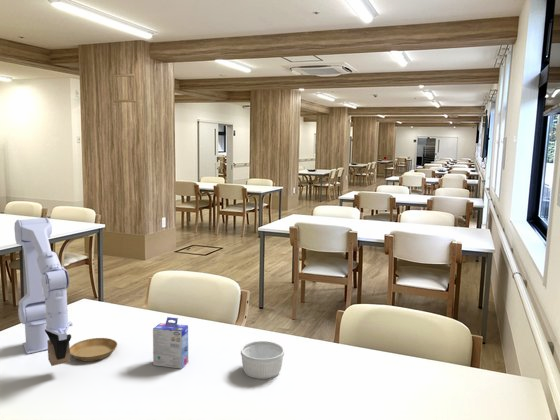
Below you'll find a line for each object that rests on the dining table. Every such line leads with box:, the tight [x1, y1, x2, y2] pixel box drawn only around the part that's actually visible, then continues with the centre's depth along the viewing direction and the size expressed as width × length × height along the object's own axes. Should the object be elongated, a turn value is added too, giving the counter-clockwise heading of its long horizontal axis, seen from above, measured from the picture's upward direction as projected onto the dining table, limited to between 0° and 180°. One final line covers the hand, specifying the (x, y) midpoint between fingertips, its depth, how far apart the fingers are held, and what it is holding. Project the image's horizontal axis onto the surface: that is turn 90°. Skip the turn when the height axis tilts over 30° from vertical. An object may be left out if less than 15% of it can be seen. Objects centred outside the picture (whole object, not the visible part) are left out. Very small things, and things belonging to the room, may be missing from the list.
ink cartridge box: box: [152, 316, 189, 369], centre depth 147 cm, size 10×6×14 cm, turn 78°
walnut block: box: [47, 340, 71, 367], centre depth 139 cm, size 5×5×6 cm
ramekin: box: [240, 340, 285, 380], centre depth 143 cm, size 13×13×7 cm
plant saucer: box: [69, 337, 118, 362], centre depth 154 cm, size 15×15×3 cm
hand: (58, 355), depth 139 cm, fingers closed on walnut block, 5 cm apart
